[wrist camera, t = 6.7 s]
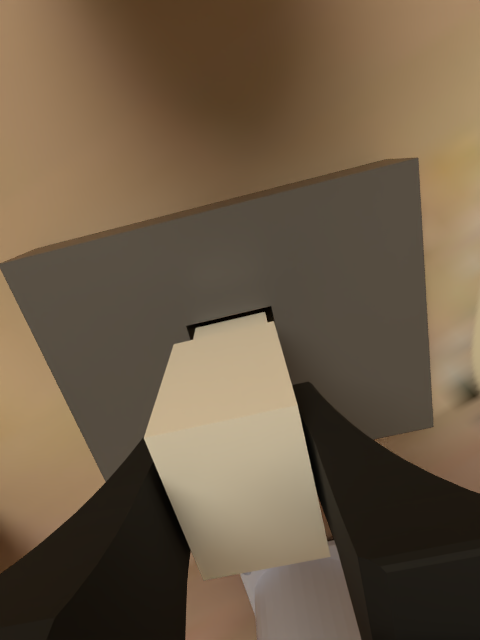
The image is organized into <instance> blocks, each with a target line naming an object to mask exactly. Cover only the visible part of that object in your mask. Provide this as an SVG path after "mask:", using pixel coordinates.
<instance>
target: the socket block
mask: <svg viewBox="0 0 480 640" xmlns="http://www.w3.org/2000/svg"><path fill="white" fill-rule="evenodd" d="M0 269H1V271H2V273H3V275H4V277H5V279H6V281H7V283H8V285H9V287H10V289H11V291H12V293H13V295H14V297H15V299H16V301H17V303H18V305H19V307H20V309H21V311H22V313H23V315H24V317H25V319H26V321H27V323H28V325H29V328H30V330H31V332H32V334H33V336H34V338H35V340H36V342H37V344H38V346H39V348H40V350H41V352H42V354H43V356H44V358H45V360H46V362H47V364H48V366H49V368H50V370H51V372H52V374H53V376H54V378H55V380H56V382H57V384H58V386H59V388H60V390H61V392H62V394H63V396H64V398H65V400H66V402H67V404H68V406H69V409H70V411H71V413H72V415H73V417H74V419H75V421H76V423H77V425H78V427H79V429H80V431H81V433H82V435H83V437H84V439H85V441H86V443H87V445H88V447H89V449H90V451H91V453H92V455H93V457H94V459H95V461H96V463H97V465H98V467H99V469H100V471H101V473H102V475H103V477H104V479H105V481H107V480H108V479H109V478H110V477H111V476H112V475H113V473H114V472H115V471H116V470H117V469H118V468H119V466H120V465H121V464H122V463H123V462H124V461H125V460H126V458H127V457H128V456H129V455H130V453H131V452H132V451H133V450H134V448H135V447H136V446H137V445H138V443H139V442H140V441H141V440H142V438H143V437H144V436H145V433H146V429H147V426H148V423H149V420H150V417H151V414H152V411H153V408H154V404H155V401H156V398H157V395H158V392H159V389H160V386H161V383H162V380H163V376H164V373H165V370H166V367H167V364H168V361H169V358H170V355H171V351H172V348H173V345H174V344H177V343H181V342H185V341H190V340H193V338H194V333H195V329H196V328H197V327H200V324H199V323H201V322H205V321H209V320H214V319H218V318H222V317H226V316H231V315H235V314H239V313H244V312H248V311H252V310H256V309H261V308H265V307H269V306H270V309H271V314H272V318H273V321H274V324H275V327H276V331H277V334H278V338H279V341H280V345H281V348H282V352H283V355H284V359H285V362H286V366H287V369H288V373H289V376H290V380H291V383H292V385H295V384H299V383H304V382H310V383H312V384H313V386H314V387H315V388H316V389H317V391H318V392H319V393H320V394H321V395H322V396H323V397H324V398H325V399H326V400H327V401H328V402H329V403H330V404H331V405H332V406H333V407H334V408H335V409H336V410H337V411H338V412H339V413H340V414H341V415H343V416H344V417H345V418H346V419H347V420H348V421H349V422H351V423H352V424H353V425H354V426H356V427H357V428H358V429H359V430H361V431H362V432H363V433H365V434H366V435H367V436H369V437H370V438H371V439H378V438H383V437H387V436H392V435H397V434H402V433H407V432H412V431H417V430H421V429H426V428H431V427H434V426H433V409H432V391H431V373H430V356H429V338H428V321H427V303H426V285H425V268H424V250H423V233H422V215H421V197H420V180H419V162H418V158H403V159H386V160H382V161H378V162H374V163H370V164H366V165H362V166H358V167H354V168H350V169H346V170H342V171H339V172H335V173H331V174H327V175H323V176H319V177H315V178H311V179H307V180H303V181H299V182H295V183H291V184H288V185H284V186H280V187H276V188H272V189H268V190H264V191H260V192H256V193H252V194H248V195H244V196H241V197H237V198H233V199H229V200H225V201H221V202H217V203H213V204H209V205H205V206H201V207H197V208H193V209H190V210H186V211H182V212H178V213H174V214H170V215H166V216H162V217H158V218H154V219H150V220H146V221H143V222H139V223H135V224H131V225H127V226H123V227H119V228H115V229H111V230H107V231H103V232H99V233H96V234H92V235H88V236H84V237H80V238H76V239H72V240H68V241H64V242H60V243H56V244H52V245H48V246H45V247H41V248H37V249H34V250H32V251H29V252H27V253H24V254H22V255H20V256H17V257H15V258H12V259H10V260H7V261H5V262H3V263H0Z"/></svg>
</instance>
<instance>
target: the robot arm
mask: <svg viewBox="0 0 480 640" xmlns="http://www.w3.org/2000/svg"><path fill="white" fill-rule="evenodd" d="M292 387H293V391H294V394H295V398H296V401H297V405H298V409H299V414H300V418H301V423H302V427H303V432H304V437H305V441H306V446H307V450H308V455H309V460H310V464H311V469H312V473H313V478H314V482H315V487H316V491H317V494H318V497H319V500H320V502H321V505H322V508H323V511H324V513H325V516H326V519H327V522H328V524H329V527H330V530H331V533H332V535H333V538H334V540H332V541H327V542H328V547H329V551H330V556H331V557H327V558H322V559H317V560H311V561H306V562H301V563H295V564H290V565H285V566H279V567H274V568H268V569H263V570H258V571H252V572H247V573H242V574H240V575H241V578H242V581H243V584H244V586H245V589H246V592H247V595H248V598H249V600H250V603H251V606H252V609H253V611H254V614H255V617H256V631H257V640H480V494H479V493H476V492H473V491H470V490H468V489H465V488H463V487H460V486H458V485H456V484H454V483H451V482H449V481H447V480H444V479H442V478H440V477H437V476H435V475H433V474H431V473H429V472H427V471H425V470H423V469H421V468H419V467H418V466H416V465H414V464H412V463H410V462H408V461H406V460H404V459H402V458H401V457H399V456H397V455H396V454H394V453H392V452H391V451H389V450H388V449H386V448H385V447H383V446H382V445H380V444H378V443H377V442H376V441H374V440H373V439H371V438H370V437H369V436H367V435H366V434H365V433H363V432H362V431H361V430H359V429H358V428H357V427H356V426H354V425H353V424H352V423H351V422H349V421H348V420H347V419H346V418H345V417H344V416H343V415H341V414H340V413H339V412H338V411H337V410H336V409H335V408H334V407H333V406H332V405H331V404H330V403H329V402H328V401H327V400H326V399H325V398H324V397H323V396H322V395H321V394H320V393H319V392H318V391H317V389H316V388H315V387H314V386H313V384H312V383H310V382H304V383H299V384H295V385H292ZM190 551H191V550H190V547H189V545H188V542H187V540H186V538H185V535H184V533H183V531H182V528H181V526H180V523H179V521H178V519H177V516H176V514H175V511H174V509H173V507H172V504H171V502H170V500H169V497H168V495H167V492H166V490H165V488H164V485H163V483H162V480H161V478H160V476H159V473H158V471H157V469H156V466H155V464H154V461H153V459H152V457H151V454H150V452H149V449H148V447H147V445H146V442H145V440H144V437H143V438H142V440H141V441H140V442H139V443H138V445H137V446H136V447H135V448H134V450H133V451H132V452H131V453H130V455H129V456H128V457H127V458H126V460H125V461H124V462H123V463H122V464H121V465H120V466H119V468H118V469H117V470H116V471H115V472H114V473H113V475H112V476H111V477H110V478H109V479H108V480H107V481H106V483H105V484H104V485H103V486H102V487H101V488H100V489H99V490H98V491H97V492H96V493H95V494H94V495H93V496H92V497H91V498H90V499H89V500H88V501H87V502H86V503H85V504H84V505H83V506H82V507H81V508H80V509H79V510H78V511H77V512H76V513H75V514H74V515H73V516H72V517H71V518H69V519H68V520H67V521H66V522H65V523H64V524H62V525H61V526H60V527H59V528H58V529H57V530H55V531H54V532H53V533H52V534H51V535H50V536H49V537H47V538H46V539H45V540H44V541H43V542H42V543H40V544H39V545H38V546H37V547H35V548H34V549H33V550H32V551H30V552H29V553H28V554H26V555H25V556H24V557H23V558H21V559H20V560H19V561H17V562H16V563H15V564H13V565H12V566H11V567H9V568H8V569H7V570H5V571H4V572H2V573H1V574H0V640H185V627H186V598H187V578H188V567H189V559H190Z"/></svg>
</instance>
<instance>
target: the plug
mask: <svg viewBox="0 0 480 640" xmlns="http://www.w3.org/2000/svg"><path fill="white" fill-rule="evenodd" d="M144 440H145V442H146V445H147V447H148V449H149V452H150V454H151V457H152V459H153V461H154V464H155V466H156V469H157V471H158V473H159V476H160V478H161V480H162V483H163V485H164V488H165V490H166V492H167V495H168V497H169V500H170V502H171V504H172V507H173V509H174V511H175V514H176V516H177V519H178V521H179V523H180V526H181V528H182V531H183V533H184V535H185V538H186V540H187V542H188V545H189V547H190V550H191V552H192V554H193V557H194V559H195V562H196V564H197V566H198V569H199V571H200V573H201V576H202V578H203V581H204V580H210V579H215V578H220V577H226V576H231V575H236V574H242V573H247V572H252V571H258V570H263V569H268V568H274V567H279V566H285V565H290V564H295V563H301V562H306V561H311V560H317V559H322V558H327V557H331V556H330V551H329V547H328V542H327V537H326V533H325V528H324V524H323V519H322V514H321V510H320V505H319V501H318V496H317V492H316V487H315V482H314V478H313V473H312V469H311V464H310V460H309V455H308V450H307V446H306V441H305V437H304V432H303V427H302V423H301V418H300V414H299V409H298V405H297V401H296V398H295V394H294V391H293V387H292V383H291V380H290V376H289V373H288V369H287V366H286V362H285V359H284V355H283V352H282V348H281V345H280V341H279V338H278V334H277V331H276V327H275V324H274V321H272V322H267V318H266V314H265V312H262V313H258V314H253V315H249V316H245V317H240V318H236V319H232V320H227V321H223V322H219V323H215V324H210V325H206V326H202V327H197V328H196V329H195V333H194V338H193V340H190V341H185V342H181V343H177V344H174V345H173V348H172V351H171V355H170V358H169V361H168V364H167V367H166V370H165V373H164V376H163V380H162V383H161V386H160V389H159V392H158V395H157V398H156V401H155V404H154V408H153V411H152V414H151V417H150V420H149V423H148V426H147V429H146V433H145V436H144Z"/></svg>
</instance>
